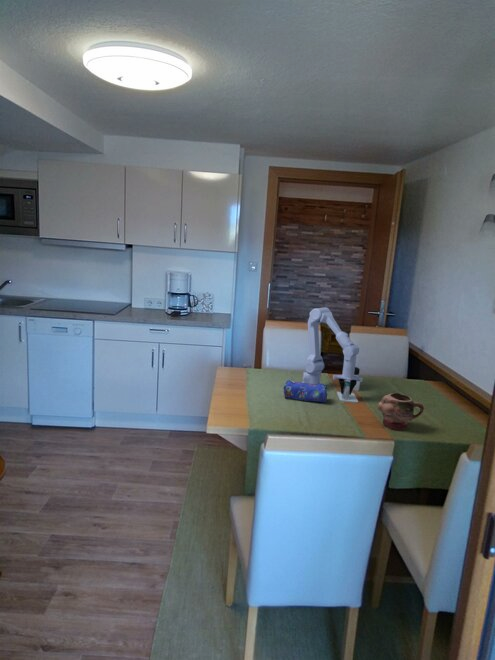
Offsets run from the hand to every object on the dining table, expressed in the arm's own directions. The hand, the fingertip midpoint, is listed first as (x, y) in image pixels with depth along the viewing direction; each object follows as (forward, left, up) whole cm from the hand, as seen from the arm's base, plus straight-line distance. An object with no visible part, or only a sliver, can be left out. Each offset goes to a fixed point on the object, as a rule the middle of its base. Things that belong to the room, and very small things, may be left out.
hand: (345, 393), depth 223 cm
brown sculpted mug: (+19, -29, -3) cm, 35 cm away
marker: (0, 0, -2) cm, 2 cm away
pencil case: (-21, -5, -3) cm, 22 cm away
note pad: (+2, +4, -3) cm, 5 cm away
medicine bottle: (+7, +19, -3) cm, 20 cm away
